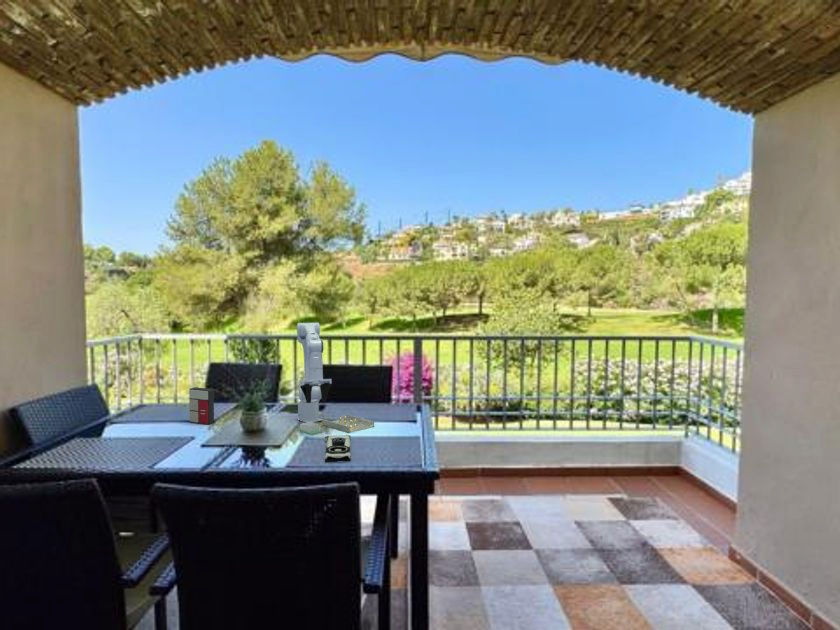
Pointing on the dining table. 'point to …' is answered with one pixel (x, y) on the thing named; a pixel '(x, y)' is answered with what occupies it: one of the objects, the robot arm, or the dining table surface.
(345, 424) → the chassis
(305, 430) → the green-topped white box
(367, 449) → the dining table surface
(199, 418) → the toy cabinet
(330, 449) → the graphics card
